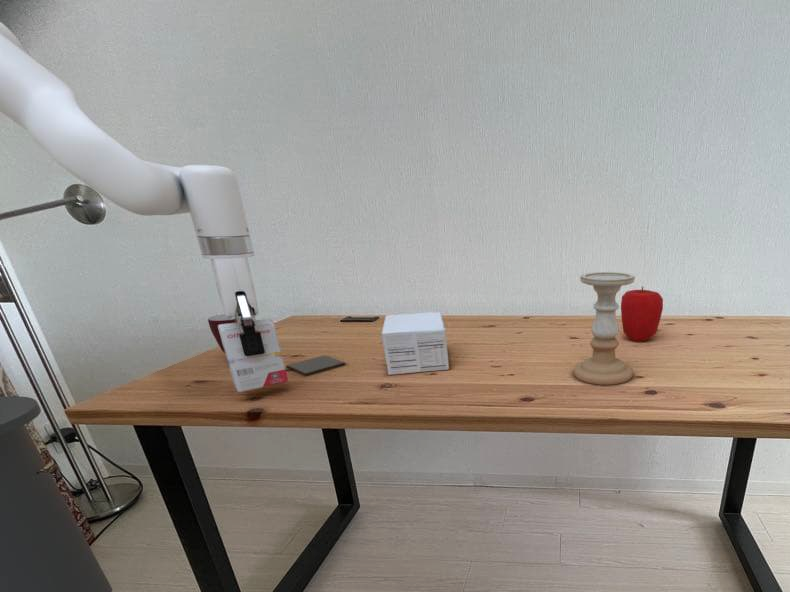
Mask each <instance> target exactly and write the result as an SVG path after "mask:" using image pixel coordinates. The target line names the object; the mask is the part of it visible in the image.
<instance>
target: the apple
mask: <svg viewBox="0 0 790 592" xmlns="http://www.w3.org/2000/svg"><path fill="white" fill-rule="evenodd" d="M663 310H664V298H663V297H662V295H661V294H660V292H657V291H654V290H648V289H644V286H642V287H641V289H632V290H627V291H625V292H624V294H622V295H621V301H620V312H621V313H620V315H621V325H622V332H623V333H624V335H625V336H626V337H627V339H628V340H630V341H632V342H636V343H641V342H642V343H643V342H647V341H648V340H650V339H651V338H652V337H653V336H655V335H656V334H657V332H658V328H659V326H660V321H661V318H662V313H663Z"/></svg>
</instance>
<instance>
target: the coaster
mask: <svg viewBox="0 0 790 592" xmlns="http://www.w3.org/2000/svg"><path fill="white" fill-rule="evenodd" d="M345 365H346V363H345V362H344V361H342V360H339V359H336V358H335V357H331V356H328V355H325V354H324V355H320V356H317V357H312V358H309V359H305V360H301V361H297V362H294V363H293V362H292V363H289V364H286V368H287V369H289V370H291V371H294V372H296V373H299V374H301V375H303V376H306V377H308V376H311V375H314V374H318V373H321V372H325V371H328V370H329V371H330V370H332V369H336V368H339V367H342V366H345Z"/></svg>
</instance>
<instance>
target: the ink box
mask: <svg viewBox="0 0 790 592" xmlns="http://www.w3.org/2000/svg"><path fill="white" fill-rule="evenodd" d="M241 323H242V322H241ZM256 323H257V327H258V330H259V332H260V334H261V338H262V342H263V346H264V350H265V353H264V354H260V355H253V356H245V355H244V351H243V348H242V344H241V340H240V336H239V334H241V333H240V329H239V326H238V323H229V324H220V325H218V329H219V333H220V336H221V340H222V344H223V347H224V350H225V353H224V354H225V357H226V361H227V364H228V368H229V371H230V375H231V378H232V381H233V385H234V387H235V389H236V391H237V393H241V392H247V391H252V390H256V389H261V388H265V387H270V386H271V387H272V386H275V385H279V384H285V383H288V382H289V377H288V374H287V370H286V365H285V362H284V361H285V360H284V358H283V353H282V348H281V345H280V341H279V336H278V333H277V328H276V325H275V323H274V322H273V321H272V320H271V319H270V318H264V319H256ZM242 327H243V326H242Z"/></svg>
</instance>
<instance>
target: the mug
mask: <svg viewBox="0 0 790 592" xmlns="http://www.w3.org/2000/svg"><path fill="white" fill-rule="evenodd" d="M207 322H208V326H209V329H210V331H211V333H212V335H213V337H214V339H215V341H216V343H217V344H218V346H219V348H220V351H222V352H223V353H224V354H225V350H224V347H223V344H222V340H221V336H220V333H219V329H218V325H220V324H229V323H236V320H235V316H231V318H230V319H229V318H227V317H226V315H225V313H223V314H216V315H213V316H210V317H208V318H207Z"/></svg>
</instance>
